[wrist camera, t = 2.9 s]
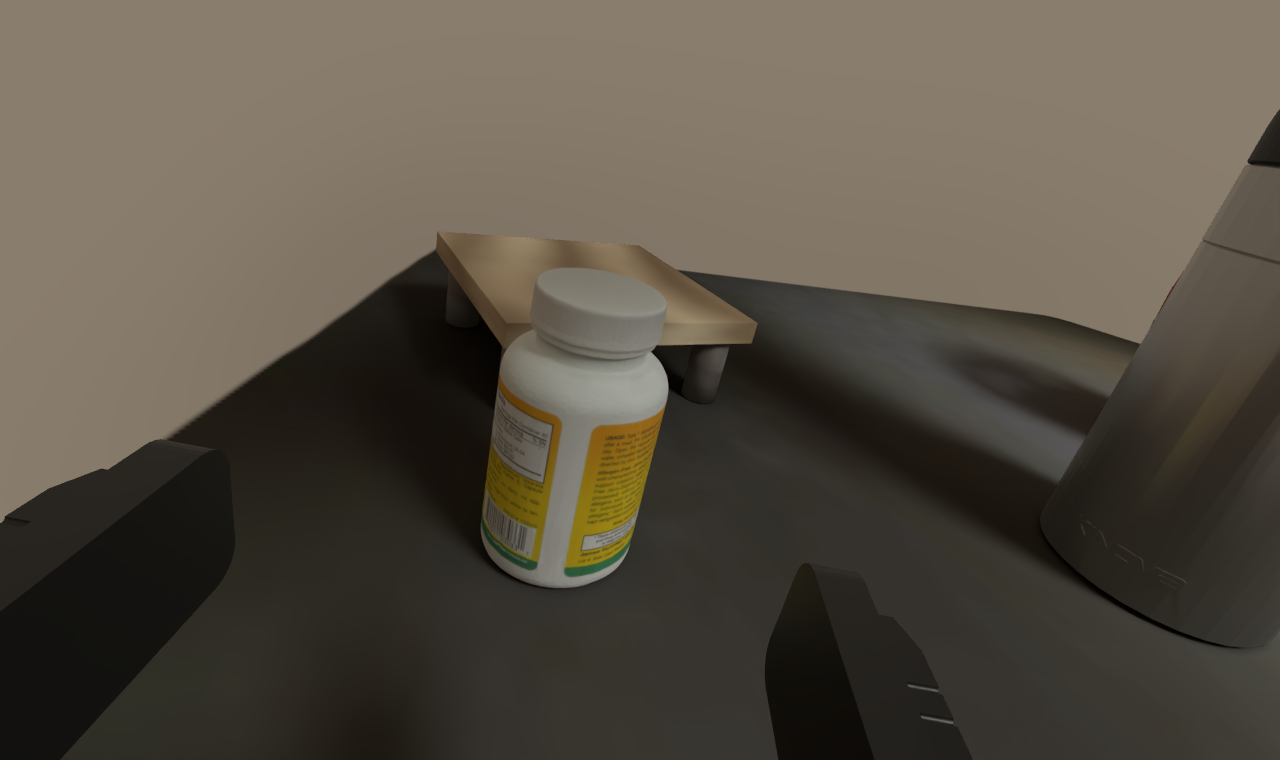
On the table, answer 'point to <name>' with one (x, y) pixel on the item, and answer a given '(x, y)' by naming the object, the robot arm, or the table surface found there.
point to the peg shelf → (508, 267)
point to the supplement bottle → (574, 428)
